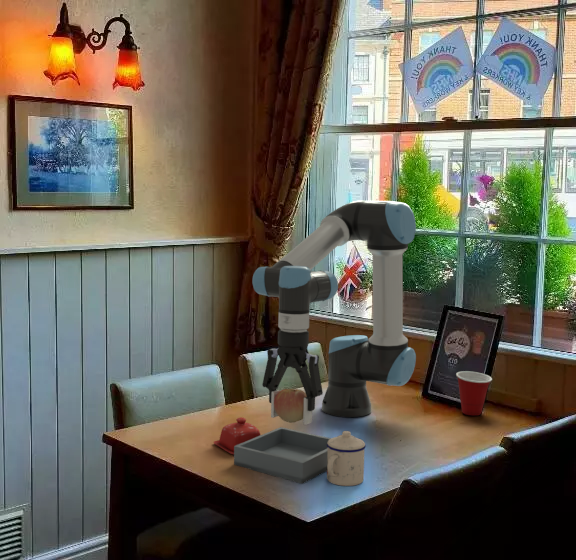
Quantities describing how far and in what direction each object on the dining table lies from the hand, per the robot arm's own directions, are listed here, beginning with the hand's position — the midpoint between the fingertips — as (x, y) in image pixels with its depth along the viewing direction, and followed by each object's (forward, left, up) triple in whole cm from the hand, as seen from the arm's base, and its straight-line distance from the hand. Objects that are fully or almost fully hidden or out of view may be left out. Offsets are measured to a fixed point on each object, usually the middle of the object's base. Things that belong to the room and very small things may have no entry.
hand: (291, 419), depth 201 cm
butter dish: (-17, +2, -12) cm, 21 cm away
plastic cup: (+19, +72, -11) cm, 75 cm away
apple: (0, 0, -1) cm, 1 cm away
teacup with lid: (+17, -3, -11) cm, 20 cm away
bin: (0, 0, -11) cm, 11 cm away
